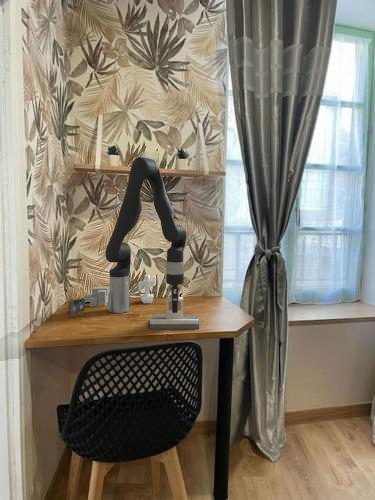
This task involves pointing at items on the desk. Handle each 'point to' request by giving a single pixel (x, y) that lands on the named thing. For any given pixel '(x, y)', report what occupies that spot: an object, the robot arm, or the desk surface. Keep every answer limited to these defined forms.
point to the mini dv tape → (76, 306)
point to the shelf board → (174, 322)
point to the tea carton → (179, 309)
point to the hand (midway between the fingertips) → (174, 309)
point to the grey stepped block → (97, 296)
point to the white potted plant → (147, 289)
